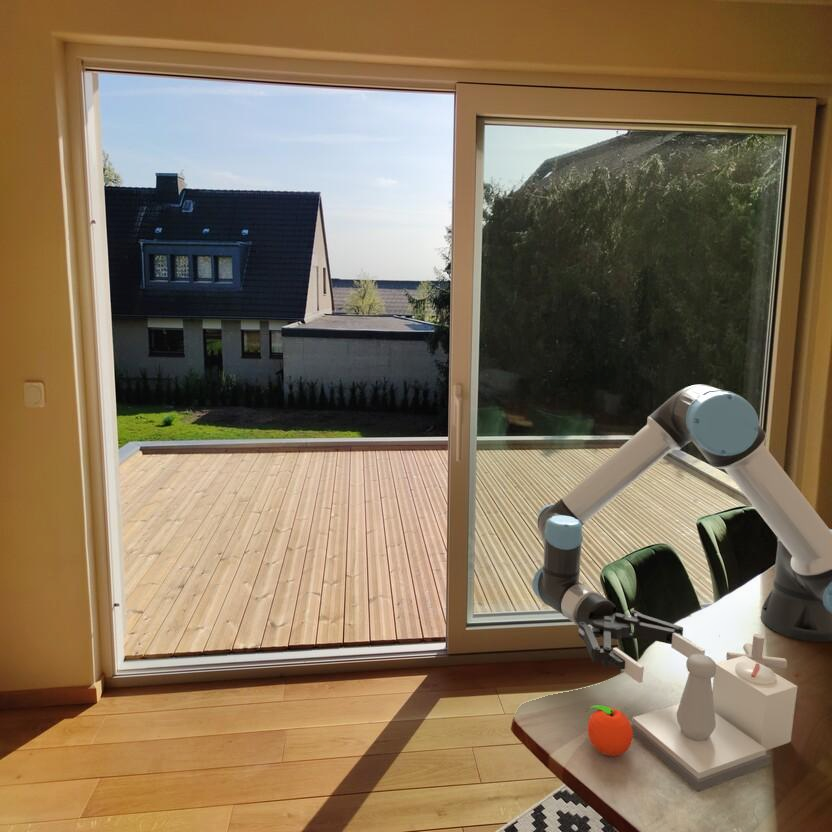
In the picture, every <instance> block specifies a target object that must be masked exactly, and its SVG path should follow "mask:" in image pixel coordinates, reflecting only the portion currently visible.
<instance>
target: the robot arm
mask: <svg viewBox="0 0 832 832" xmlns="http://www.w3.org/2000/svg"><path fill="white" fill-rule="evenodd" d="M646 421H647V422H646V425H644V426H643V427H642V428H641V429H640V430H638V432H636V433H635V434H634V435H633V436H632V437H631V438H629V439H628V441H626V442H624V443H623V444H622V445H621V446H620V447H619V448H618V449H617V450H616V451H615V452H614V453H612V454H611V455H610V456H609V457H608V458H607V459H605V460H604V461H603V462H602V463H601V464H599V465H598V466H597V467H596V468H595V469H594V470H592V471H591V472H590V473H589V474H588V475H587V476H585V478H583V480H581V481H580V482H578V484H577V485H576V486H574V487H573V488H572V489H571V490H570V491H568V492H567V493H566V494H565V495H563V497H562V498H560V499H558V501H556V502H555V503H549V504H546V505H544V506H543V507H542V508H541V509H540V510H539V512H538V515H537V529H538V531H539V533H540V537H541V541H542V545H543V566H542V567H540V568H538V570H537V571H536V572H535V574H534V575H535V576H534V577H533V578H532V581H531V586H532V590H533V592H534V594H535V596H536V597H538V599H540V600H541V601H542V602H543V603H544V604H545V605H546V606H548V607H550V608H551V609H554V610H555V611H557V612H558V613H560V614H561V615H562V616H563V617H565V618H567V619H568V620H569V621H571V622H572V623H573V624H575V625H576V626H578V633H577V636H578V637H579V638H580V639H581V640H582V641H583V642H584V644H585V647H586V650H587V651H588V654H589V656H590V659H591V661H592V662H593V663H597V664H599V663H600V661H602V666H603V667H606V668H607V667H610V666H611V665H612V666H613V667H615V669H617V670H621V671H622V672H623V673H624V674H626V675H628V677H631V679H632V680H634V681H636V682H637V683H638V684H640V683H643V681H644V680H643V678H644V666H643V665H642V664H640V663H639V662H638V661H636V660H635V659H633V658H632V657H631V656H630V655H628V654H627V653H625V652H624V651H622V650H621V649H619V648H618V647H613V648H612V639H613V640H620V639H623V638H631V639H633V640H634V639H638V638H640V639H646V640H651V641H655V642H659V643H664V644H669V645H671V648H672V649H674V650H675V651H677V652H678V653H680V654H681V655H683V656H684V657H686V658H688V657H689V656H691V655H693V654H702V655H706V650H705V649H704V648H703V647H700V646H699V645H697V644H696V643H695V642H692V640H689V639H688V638H686V637H684V636H683V635H684V633H683V632H684V627H683V626H680V625H677V624H674V623H671V622H668V621H665V620H661V619H658V618H656V617H655V618H654V617H652V616H648V615H645V614H643V613H642V612H639V611H637V610H631V613H630V615H626V614H623V613H621V612H619V610H618V608H617V607H616V605H615V604H614V602H612V601H611V600H609V599H607V598H606V597H604V596H602V595H600V594H599V593H598V592H596V591H595V590H593V589H591V588H589V587H588V586H587V585H584V584H583V583H581V582H580V572H581V557H582V556H581V555H582V554H581V553H582V544H583V540H584V536H583V526H584V524H586V523H587V522H588V521H590V519H592V518H593V517H594V516H596V514H598V513H599V512H600V511H601V510H603V509H604V508H605V507H606V506H607V505H609V503H611V502H612V501H614V500H615V499H616V498H617V497H618V496H619V495H620V494H622V493H623V492H624V491H625V490H626V489H627V488H629V487H630V486H631V485H632V484H633V483H635V482H636V481H637V480H638V479H639V478H641V477H642V476H643V475H644V474H645V473H647V472H648V471H649V470H650V469H651V468H653V466H655V465H656V464H657V463H659V461H661V460H662V459H663V458H664V457H666V456H667V455H668V454H669V453H670V452H671V451H680V450H681V449H683V448H684V447H685V446H686V445H688V444H689V443H690V442H692V443H693V444H694V445H695V447H696V448H697V449H698V451H699V452H700V453H701V454H702V456H703V457H704V458H705V460H706V461H707V462H708V464H710V466H711V467H713V468H714V469H719V470H720V469H722V470H724V471H725V472H726V473H727V474H728V476H729V477H730V478H731V480H732V481H733V482H734V483H735V485H736V486H737V487H738V489H739V490H740V491H741V493H742V494H743V495H744V496H745V498H746V499H747V500H748V501H749V502H750V504H751V505H752V507H754V509H755V511H756V512H757V513H758V514H759V515H760V517H761V518H762V519H763V521H764V522H765V523H766V525H767V526H768V527H769V528H770V529H771V531H772V532H773V533H774V535H775V536H776V537H777V541H776V542H777V543H776V544H777V545H776V546H777V547H776V554H775V556H776V557H775V565H774V573H773V574H774V575H773V585H772V587H771V590H770V592H769V593H768V595H767V597H766V599H765V601H764V603H763V604H762V607H761V609H760V610H761V611H760V620H761V622H762V623H763V624H764V625H765V626H766V627H767V628H769V629H771V630H772V631H774V632H777V633H779V634H781V635H782V636H783V635H784V636H786V637H788V638H792V639H796V640H800V641H806V642H812V643H826V642H827V643H828V642H832V529H831V528H829V527H828V526H827V524H826V523H825V522H824V520H823V519H822V518H821V517H820V515H819V513H818V512H817V511H816V510H815V509H814V508H813V506H812V505H811V503H809V501H808V500H807V498H806V497H805V496H804V495H803V493H802V492H801V491H800V490H799V488H798V487H797V486H796V484H795V483H794V482H793V481H792V479H791V478H790V476H789V475H788V473H787V472H786V471H785V470H784V469H783V468H782V466H781V465H780V463H779V462H778V461H777V459H775V457H774V456H773V455H772V453H771V452H770V450H769V449H768V448H767V447H766V446H765V443H766V440H767V433H766V432H765V430H763V429H764V428H763V427H762V426H761V425H760V420H759V417H758V414H757V411H756V410H755V408H754V407H753V405H752V404H751V403H749V401H748V400H746V399H745V398H744V397H742V395H739V394H737V393H734V392H732V391H729V390H725V389H720V388H717V387H714V386H711V385H709V384H693V385H690V386H685V387H684V388H682V389H680V390H679V391H677V392H675V394H673V395H672V396H670V398H668V399H667V400H666V401H664V403H663V404H661V405H660V406H659V407H658V408H656V410H654V411H653V412H652V413H651V414H650V415H649V416H647V420H646ZM632 626H633V631H632ZM631 631H632V632H631ZM597 638H602V648H601V647H600V645H599V643H598V640H597Z"/></svg>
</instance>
